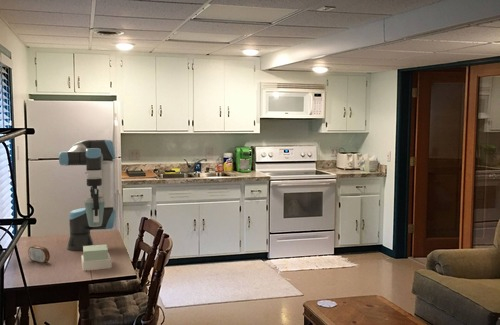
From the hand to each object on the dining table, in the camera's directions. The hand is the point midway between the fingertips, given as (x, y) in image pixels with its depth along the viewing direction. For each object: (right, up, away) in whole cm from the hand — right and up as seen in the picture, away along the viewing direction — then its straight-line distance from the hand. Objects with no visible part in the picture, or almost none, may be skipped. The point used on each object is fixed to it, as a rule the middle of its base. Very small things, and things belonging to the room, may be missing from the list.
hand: (95, 220), depth 268 cm
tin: (-34, -24, +10) cm, 42 cm away
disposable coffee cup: (0, -3, 0) cm, 3 cm away
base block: (0, -25, +2) cm, 25 cm away
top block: (0, -20, +2) cm, 20 cm away
